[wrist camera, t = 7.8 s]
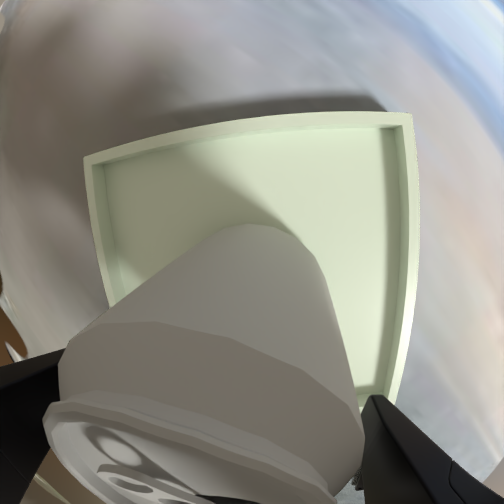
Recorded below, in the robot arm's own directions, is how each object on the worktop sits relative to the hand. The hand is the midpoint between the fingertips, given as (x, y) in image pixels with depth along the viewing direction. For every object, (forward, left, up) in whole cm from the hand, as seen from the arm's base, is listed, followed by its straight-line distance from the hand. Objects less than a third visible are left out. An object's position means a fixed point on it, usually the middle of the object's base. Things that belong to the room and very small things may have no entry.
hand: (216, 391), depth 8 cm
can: (0, 0, -8) cm, 8 cm away
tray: (0, 0, -8) cm, 8 cm away
